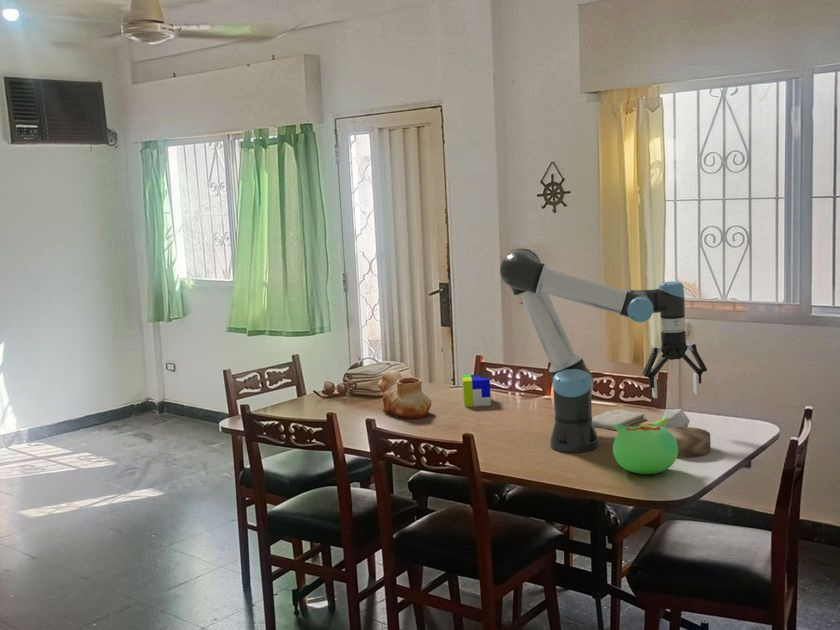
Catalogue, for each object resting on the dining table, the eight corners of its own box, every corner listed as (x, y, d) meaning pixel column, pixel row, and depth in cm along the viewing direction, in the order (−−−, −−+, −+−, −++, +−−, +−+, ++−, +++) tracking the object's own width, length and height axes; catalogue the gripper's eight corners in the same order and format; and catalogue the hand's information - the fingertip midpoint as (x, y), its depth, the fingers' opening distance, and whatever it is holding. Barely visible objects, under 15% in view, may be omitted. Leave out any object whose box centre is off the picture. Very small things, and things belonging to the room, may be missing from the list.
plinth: (668, 459, 270) (668, 443, 269) (652, 444, 284) (652, 429, 284) (718, 455, 270) (718, 438, 270) (699, 440, 285) (699, 425, 284)
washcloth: (646, 420, 313) (646, 411, 313) (617, 432, 301) (617, 423, 301) (617, 415, 322) (616, 406, 321) (587, 427, 309) (587, 418, 309)
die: (684, 440, 288) (697, 413, 290) (659, 428, 289) (672, 401, 291) (677, 442, 296) (689, 416, 298) (653, 430, 297) (665, 404, 299)
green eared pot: (615, 481, 254) (613, 430, 251) (612, 462, 270) (610, 414, 268) (681, 481, 251) (680, 429, 248) (674, 461, 267) (673, 413, 265)
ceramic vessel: (401, 402, 358) (399, 365, 355) (439, 414, 336) (437, 375, 334) (371, 409, 350) (368, 371, 348) (408, 422, 328) (405, 381, 326)
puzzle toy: (491, 405, 344) (489, 379, 343) (464, 407, 345) (463, 381, 343) (489, 399, 354) (488, 373, 353) (463, 400, 354) (462, 375, 353)
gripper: (638, 335, 285) (641, 401, 288) (716, 328, 286) (718, 394, 289) (631, 332, 292) (634, 396, 295) (707, 325, 293) (709, 389, 297)
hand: (675, 395), depth 292 cm, fingers open, 13 cm apart
